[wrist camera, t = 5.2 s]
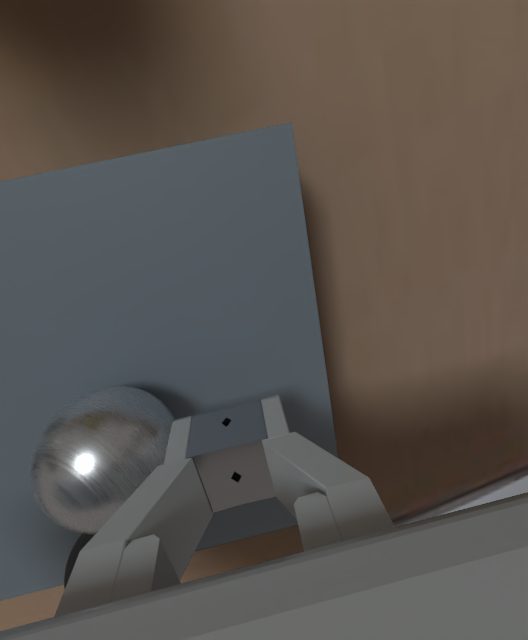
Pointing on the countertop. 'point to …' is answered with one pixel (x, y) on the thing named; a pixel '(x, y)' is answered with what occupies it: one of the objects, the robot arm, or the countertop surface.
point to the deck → (154, 312)
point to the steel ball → (98, 455)
